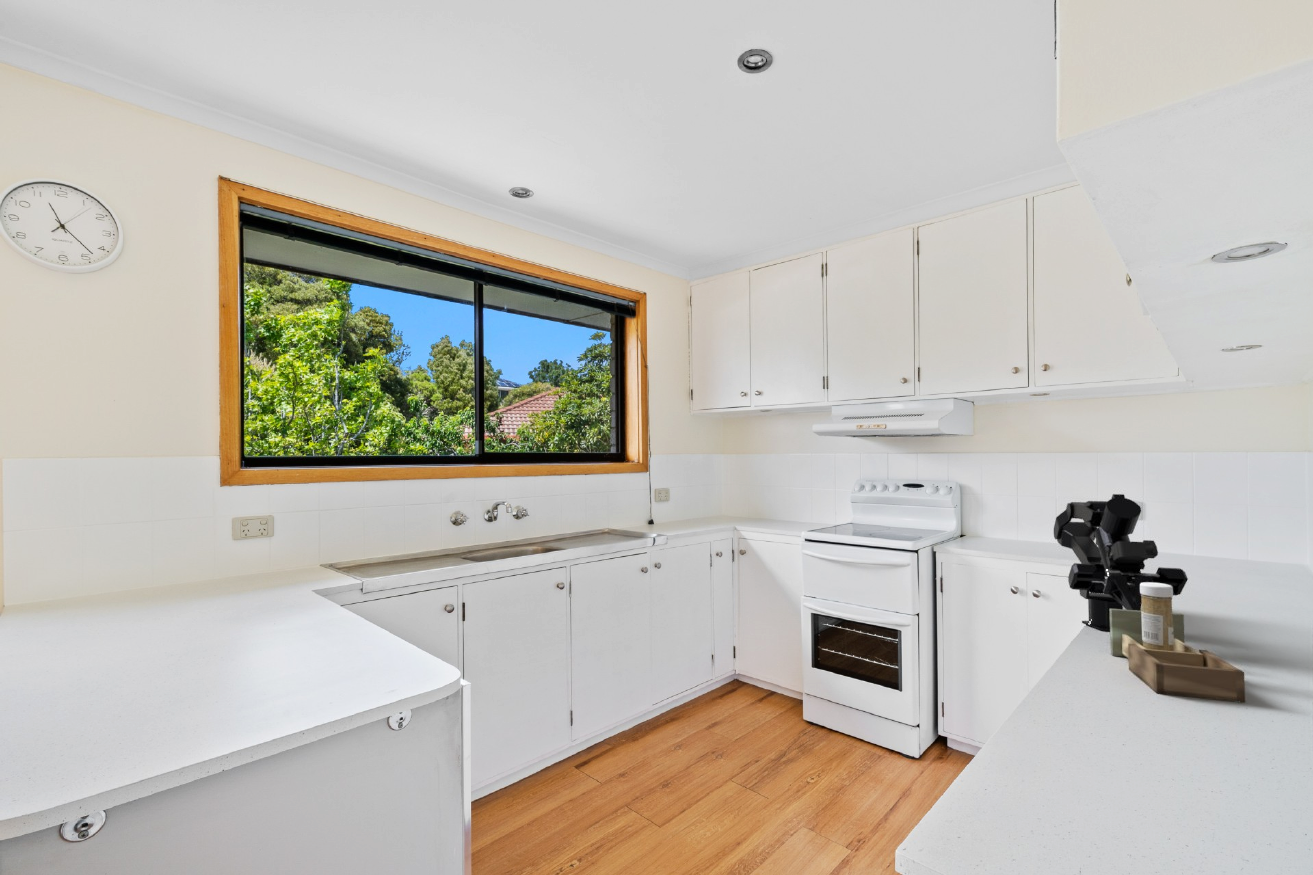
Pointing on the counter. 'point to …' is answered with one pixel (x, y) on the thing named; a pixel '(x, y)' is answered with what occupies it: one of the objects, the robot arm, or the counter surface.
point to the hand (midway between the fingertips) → (1137, 615)
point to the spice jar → (1157, 616)
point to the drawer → (1130, 632)
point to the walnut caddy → (1189, 676)
